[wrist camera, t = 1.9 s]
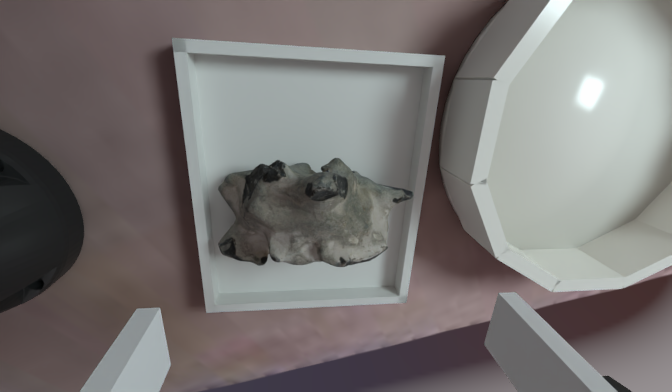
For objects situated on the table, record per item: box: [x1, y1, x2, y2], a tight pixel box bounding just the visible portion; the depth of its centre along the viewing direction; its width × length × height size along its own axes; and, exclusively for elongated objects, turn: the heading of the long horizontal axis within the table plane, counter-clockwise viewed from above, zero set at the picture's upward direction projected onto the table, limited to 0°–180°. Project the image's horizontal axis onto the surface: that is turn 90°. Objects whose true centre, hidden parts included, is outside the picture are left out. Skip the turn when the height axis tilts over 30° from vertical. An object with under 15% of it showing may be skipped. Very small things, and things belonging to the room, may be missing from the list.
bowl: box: [439, 0, 672, 292], centre depth 25 cm, size 26×26×6 cm
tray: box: [172, 38, 445, 313], centre depth 26 cm, size 19×22×2 cm
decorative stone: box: [218, 158, 414, 267], centre depth 22 cm, size 16×9×10 cm, turn 105°
